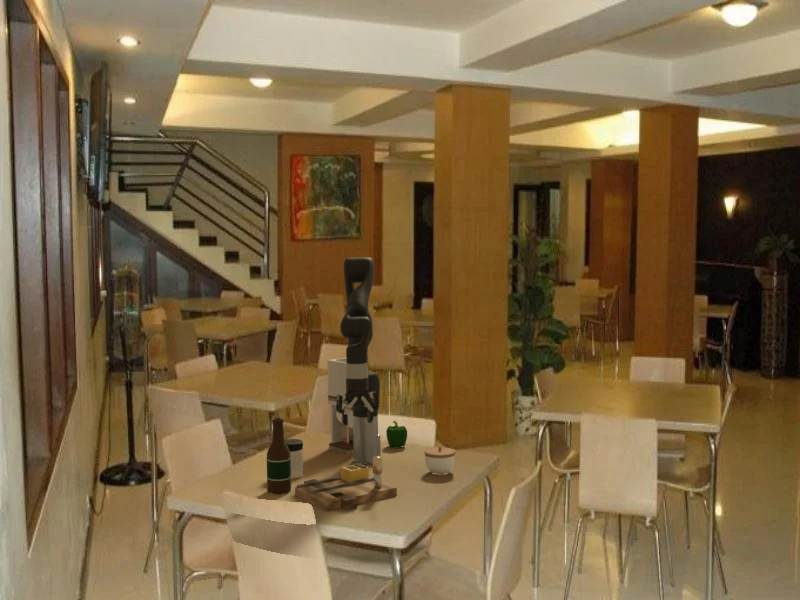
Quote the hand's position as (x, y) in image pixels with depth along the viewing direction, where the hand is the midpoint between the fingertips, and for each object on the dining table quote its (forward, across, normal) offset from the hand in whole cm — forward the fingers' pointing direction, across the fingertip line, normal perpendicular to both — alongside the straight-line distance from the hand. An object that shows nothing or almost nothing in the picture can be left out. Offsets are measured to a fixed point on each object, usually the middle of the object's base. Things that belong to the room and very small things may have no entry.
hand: (357, 423), depth 285 cm
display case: (+20, -13, -45) cm, 51 cm away
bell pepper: (+20, -31, -39) cm, 54 cm away
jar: (+20, +18, -18) cm, 32 cm away
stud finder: (+17, +3, +5) cm, 18 cm away
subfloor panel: (+20, +9, +12) cm, 25 cm away
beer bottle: (+20, +27, -2) cm, 34 cm away
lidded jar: (+20, -30, +2) cm, 36 cm away
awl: (+17, 0, +17) cm, 24 cm away
